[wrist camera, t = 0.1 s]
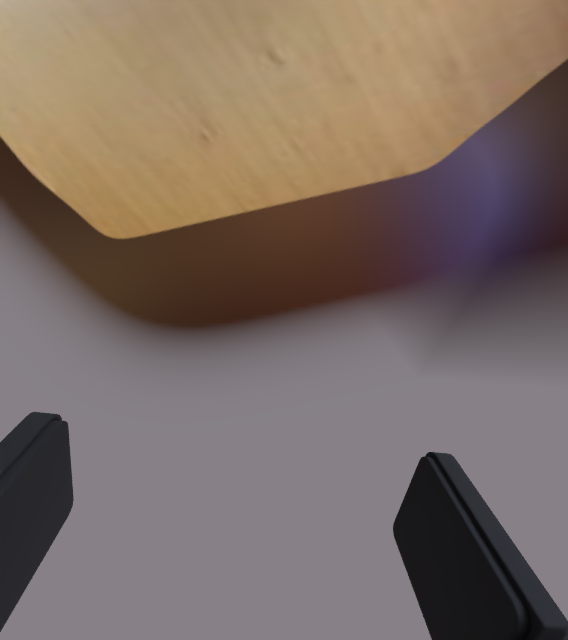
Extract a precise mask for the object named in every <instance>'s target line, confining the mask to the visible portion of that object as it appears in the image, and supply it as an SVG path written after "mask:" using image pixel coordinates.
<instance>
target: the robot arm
mask: <svg viewBox="0 0 568 640" xmlns="http://www.w3.org/2000/svg"><path fill="white" fill-rule="evenodd" d="M72 505H73V487H72V473H71V459H70V446H69V431H68V423H67V422H66V421H62V418H61V416H60V415H58V414H49V413H40V412H32V413H30V414H29V415H28V416H26V417H25V419H24V420H23V421H21V422H20V423H19V424H18V425H17V427H15V428H14V429H13V430H12V431H11V432H10V433H9V434H8V435H7V436H6V437H5V438H4V439H3V440H2V441H1V442H0V632H1V630H2V628H3V626H4V625H5V623H6V621H7V620H8V618H9V616H10V614H11V613H12V611H13V610H14V608H15V606H16V604H17V603H18V601H19V599H20V597H21V596H22V594H23V592H24V590H25V589H26V587H27V586H28V584H29V582H30V580H31V579H32V577H33V575H34V574H35V572H36V570H37V568H38V567H39V565H40V563H41V562H42V560H43V558H44V556H45V555H46V553H47V551H48V550H49V548H50V546H51V545H52V543H53V541H54V540H55V538H56V536H57V534H58V533H59V531H60V529H61V527H62V526H63V524H64V522H65V521H66V519H67V517H68V515H69V513H70V511H71V508H72ZM393 532H394V538H395V540H396V543H397V546H398V549H399V551H400V554H401V557H402V560H403V562H404V565H405V568H406V570H407V573H408V576H409V579H410V581H411V584H412V587H413V589H414V592H415V594H416V597H417V600H418V603H419V606H420V608H421V611H422V614H423V617H424V619H425V622H426V625H427V628H428V630H429V633H430V635H431V638H432V640H568V621H567V620H566V618H565V617H564V615H563V614H562V612H561V611H560V609H559V608H558V607H557V605H556V604H555V602H554V601H553V599H552V598H551V596H550V595H549V593H548V592H547V591H546V589H545V588H544V586H543V585H542V583H541V582H540V580H539V579H538V578H537V576H536V575H535V573H534V572H533V570H532V569H531V567H530V566H529V565H528V563H527V562H526V560H525V559H524V557H523V556H522V554H521V553H520V552H519V550H518V549H517V547H516V546H515V544H514V543H513V542H512V540H511V539H510V537H509V536H508V534H507V533H506V531H505V530H504V529H503V527H502V526H501V524H500V523H499V521H498V520H497V518H496V517H495V515H494V514H493V513H492V511H491V510H490V508H489V507H488V505H487V504H486V502H485V501H484V500H483V498H482V497H481V495H480V494H479V492H478V491H477V490H476V488H475V487H474V485H473V484H472V482H471V481H470V479H469V478H468V477H467V475H466V474H465V472H464V471H463V469H462V468H461V466H460V465H459V464H458V462H457V461H456V459H455V458H454V457H453V456H452V455H451V454H446V453H435V452H429V453H427V454H426V456H425V457H422V458H421V459H420V461H419V463H418V466H417V468H416V471H415V473H414V475H413V478H412V480H411V483H410V485H409V488H408V490H407V492H406V495H405V497H404V500H403V502H402V504H401V507H400V509H399V512H398V514H397V517H396V519H395V522H394V525H393Z"/></svg>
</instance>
